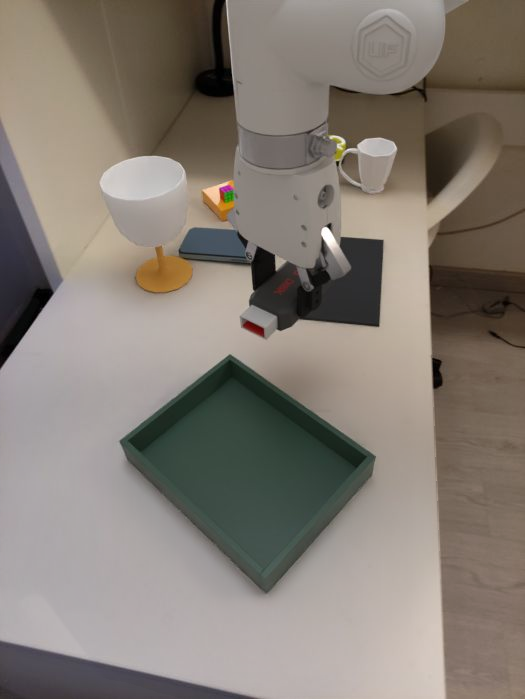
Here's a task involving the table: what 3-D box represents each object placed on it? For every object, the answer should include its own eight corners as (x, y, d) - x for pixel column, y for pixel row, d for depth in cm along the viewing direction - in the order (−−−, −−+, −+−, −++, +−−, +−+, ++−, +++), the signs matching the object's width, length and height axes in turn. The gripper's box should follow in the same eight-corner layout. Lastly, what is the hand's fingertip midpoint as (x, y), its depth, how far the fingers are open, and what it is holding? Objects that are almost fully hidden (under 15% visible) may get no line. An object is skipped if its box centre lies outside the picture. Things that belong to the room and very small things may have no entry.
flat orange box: (203, 200, 99) (200, 179, 96) (241, 187, 102) (239, 167, 99) (222, 221, 95) (220, 200, 91) (261, 207, 97) (260, 186, 94)
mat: (379, 326, 76) (379, 324, 75) (280, 317, 78) (280, 315, 77) (383, 241, 89) (383, 239, 89) (299, 235, 91) (299, 233, 91)
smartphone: (189, 225, 92) (275, 230, 89) (191, 233, 93) (276, 239, 90) (175, 252, 87) (266, 259, 84) (177, 260, 88) (266, 267, 85)
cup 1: (205, 291, 82) (190, 192, 70) (128, 304, 81) (98, 206, 68) (196, 246, 90) (180, 150, 77) (126, 258, 89) (98, 161, 76)
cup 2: (388, 200, 97) (394, 158, 91) (334, 193, 99) (336, 152, 93) (393, 180, 101) (400, 139, 96) (341, 174, 104) (344, 133, 98)
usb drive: (335, 280, 61) (336, 261, 59) (274, 345, 55) (273, 326, 53) (296, 265, 63) (296, 246, 61) (234, 325, 57) (231, 306, 55)
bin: (372, 474, 60) (376, 456, 57) (266, 594, 52) (265, 579, 49) (232, 373, 71) (229, 353, 68) (126, 459, 63) (118, 440, 60)
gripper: (395, 149, 43) (372, 313, 56) (239, 96, 51) (252, 250, 64) (338, 189, 39) (328, 354, 53) (181, 125, 47) (207, 282, 61)
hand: (286, 296), depth 58 cm, fingers closed on usb drive, 5 cm apart
